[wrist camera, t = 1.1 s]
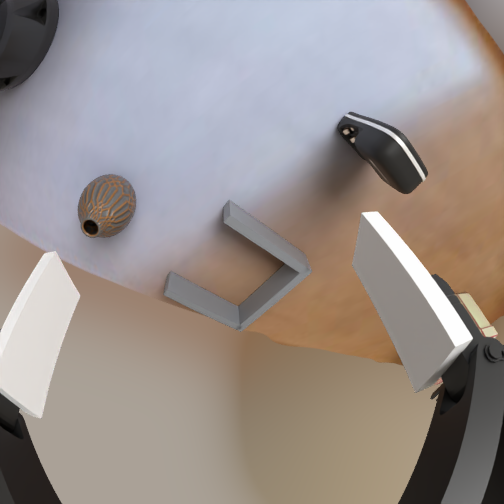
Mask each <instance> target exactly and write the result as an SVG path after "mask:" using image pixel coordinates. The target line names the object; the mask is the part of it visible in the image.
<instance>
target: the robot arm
mask: <svg viewBox="0 0 504 504" xmlns="http://www.w3.org/2000/svg"><path fill="white" fill-rule="evenodd" d="M58 16H59V8H58V3H57V0H0V91H2V90H6V89H10V88H13V87H15V86H17V85H19V84H20V83H22V82H23V81H24V80H26V79H27V78H28V77H29V76H30V75H31V74H32V73H33V72H34V71H35V69H36V68H37V67H38V65H39V64H40V63H41V61H42V60H43V58H44V56H45V55H46V53H47V51H48V49H49V47H50V45H51V42H52V40H53V37H54V35H55V31H56V28H57V23H58ZM352 266H353V268H354V270H355V271H356V273H357V275H358V277H359V279H360V280H361V282H362V284H363V286H364V288H365V289H366V291H367V293H368V295H369V297H370V299H371V301H372V302H373V304H374V306H375V308H376V310H377V312H378V314H379V316H380V318H381V320H382V322H383V324H384V326H385V328H386V330H387V332H388V334H389V336H390V338H391V340H392V342H393V344H394V346H395V348H396V350H397V352H398V355H399V357H400V359H401V361H402V363H403V366H404V368H405V370H406V372H407V374H408V377H409V379H410V381H411V384H412V386H413V388H414V391H415V393H417V392H419V391H422V390H424V389H426V388H428V387H431V386H433V385H434V384H435V383H436V382H437V381H438V379H439V378H440V377H441V379H442V381H443V384H442V385H441V386H440V387H439V388H438V389H437V390H436V391H435V392H434V393H433V394H432V396H431V399H433V398H435V397H436V396H437V395H438V394H439V395H438V398H437V400H436V401H437V403H436V407H435V411H434V414H433V418H432V421H431V424H430V428H429V431H428V434H427V437H426V440H425V443H424V446H423V448H422V451H421V454H420V456H419V459H418V461H417V464H416V466H415V469H414V471H413V473H412V476H411V478H410V480H409V482H408V484H407V487H406V489H405V491H404V493H403V495H402V497H401V499H400V501H399V503H398V504H504V345H502V344H501V343H500V342H499V341H498V340H496V339H495V338H493V337H484V336H483V334H482V333H481V332H480V330H479V328H478V327H477V325H476V324H475V322H474V321H473V319H472V318H471V316H470V315H469V313H468V312H467V310H466V309H465V307H464V306H463V304H461V303H460V302H461V301H460V300H459V299H458V297H457V296H456V295H454V292H453V290H452V289H451V287H450V286H449V285H448V283H447V282H445V281H444V280H443V279H442V278H440V277H439V276H438V275H436V274H434V275H430V274H429V273H428V271H427V270H426V269H425V267H424V266H423V265H422V264H421V262H420V261H419V260H418V258H417V257H416V256H415V255H414V253H413V252H412V251H411V250H410V249H409V247H408V246H407V245H406V244H405V243H404V241H403V240H402V239H401V238H400V237H399V235H398V234H397V233H396V232H395V231H394V230H393V228H392V227H391V226H390V225H389V224H388V223H387V222H386V221H385V219H384V218H383V217H382V216H381V215H380V214H379V213H378V212H364V213H361V219H360V225H359V231H358V237H357V242H356V247H355V253H354V258H353V263H352ZM79 298H80V294H79V293H78V291H77V289H76V287H75V286H74V284H73V282H72V280H71V279H70V277H69V275H68V273H67V271H66V270H65V268H64V266H63V264H62V262H61V260H60V258H59V256H58V254H57V252H56V251H54V252H48V253H45V254H44V255H43V257H42V258H41V259H40V261H39V263H38V264H37V266H36V267H35V269H34V270H33V272H32V274H31V275H30V277H29V279H28V280H27V282H26V284H25V285H24V287H23V289H22V291H21V292H20V294H19V296H18V298H17V300H16V301H15V303H14V305H13V307H12V309H11V311H10V313H9V315H8V317H7V319H6V321H5V323H4V325H3V327H2V328H1V330H0V504H62V503H61V501H60V500H59V498H58V496H57V494H56V493H55V491H54V489H53V487H52V485H51V483H50V481H49V479H48V477H47V475H46V473H45V471H44V469H43V467H42V465H41V463H40V460H39V458H38V455H37V453H36V451H35V448H34V446H33V443H32V440H31V438H30V435H29V432H28V429H27V427H26V423H25V420H24V418H23V416H22V415H21V414H20V413H19V409H21V410H23V411H24V412H26V413H27V414H29V415H31V416H34V417H37V418H42V414H43V409H44V405H45V401H46V397H47V393H48V389H49V385H50V381H51V377H52V374H53V371H54V367H55V364H56V360H57V357H58V354H59V351H60V348H61V345H62V342H63V339H64V336H65V334H66V331H67V328H68V325H69V322H70V320H71V318H72V315H73V312H74V310H75V307H76V305H77V303H78V300H79Z"/></svg>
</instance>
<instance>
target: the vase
mask: <svg viewBox="0 0 504 504" xmlns="http://www.w3.org/2000/svg"><path fill="white" fill-rule="evenodd" d="M135 208H136V196H135V192H134V189H133V187H132V186H131V184H130V183H129V182H128V181H127V180H126V179H124V178H123V177H121V176H118V175H112V174H109V175H103V176H100V177H98V178H96V179H95V180H93V181H92V182H91V183H90V184H88V186H87V187H86V188H85V189H84V191H83V192H82V194H81V197H80V200H79V204H78V216H79V220H80V222H81V229H82V231H83V233H84V234H85V235H86V236H88V237H90V238H95V237H102V238H105V237H111V236H114V235H116V234H118V233H119V232H121V231H122V230H123V229H124V228H125V227H126V226H127V225H128V224H129V222H130V221H131V219H132V217H133V215H134V212H135Z"/></svg>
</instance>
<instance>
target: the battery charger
mask: <svg viewBox="0 0 504 504" xmlns="http://www.w3.org/2000/svg"><path fill="white" fill-rule="evenodd" d="M338 131H339V133H340V134H341V135H342V137H343V138H344V139H345V140H346V141H347V142H348V143H349V144H350V145H351V146H352V147H353V149H354V150H355V151H356V152H357V153H358V154H359V155H360V156H361V157H362V158H363V159H364V160H366V161H367V162H368V163H369V164H370V165H371V166H372V167H373V169H374V170H375V171H376V173H377V174H378V175H379V176H380V178H381V179H382V180H383V181H385V182H386V183H387V184H389V185H390V186H391V187H393V188H394V189H396V190H397V191H399V192H401V193H403V194H409V193H411V192H412V191H413V190H414V189H415V188H416V187H417V186H418V185H419V184H420V183H421V182H424V181H425V179H426V177H427V175H428V172H427V169H426V167H425V165H424V164H423V162H422V160H421V159H420V157H419V155H418V154H417V152H416V151H415V149H414V148H413V146H412V145H411V143H410V142H409V140H408V139H407V138H406V137H405V135H404V134H403V133H401V132H400V131H399V130H398V129H396V128H394V127H393V126H390V125H388V124H386V123H383V122H380V121H378V120H375V119H372V118H369V117H365V116H362V115H359V114H356V113H353V112H349V113H348V114H346V115H345V117H344V118H343V119H342V120H341V122H340V123H339V126H338Z"/></svg>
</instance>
